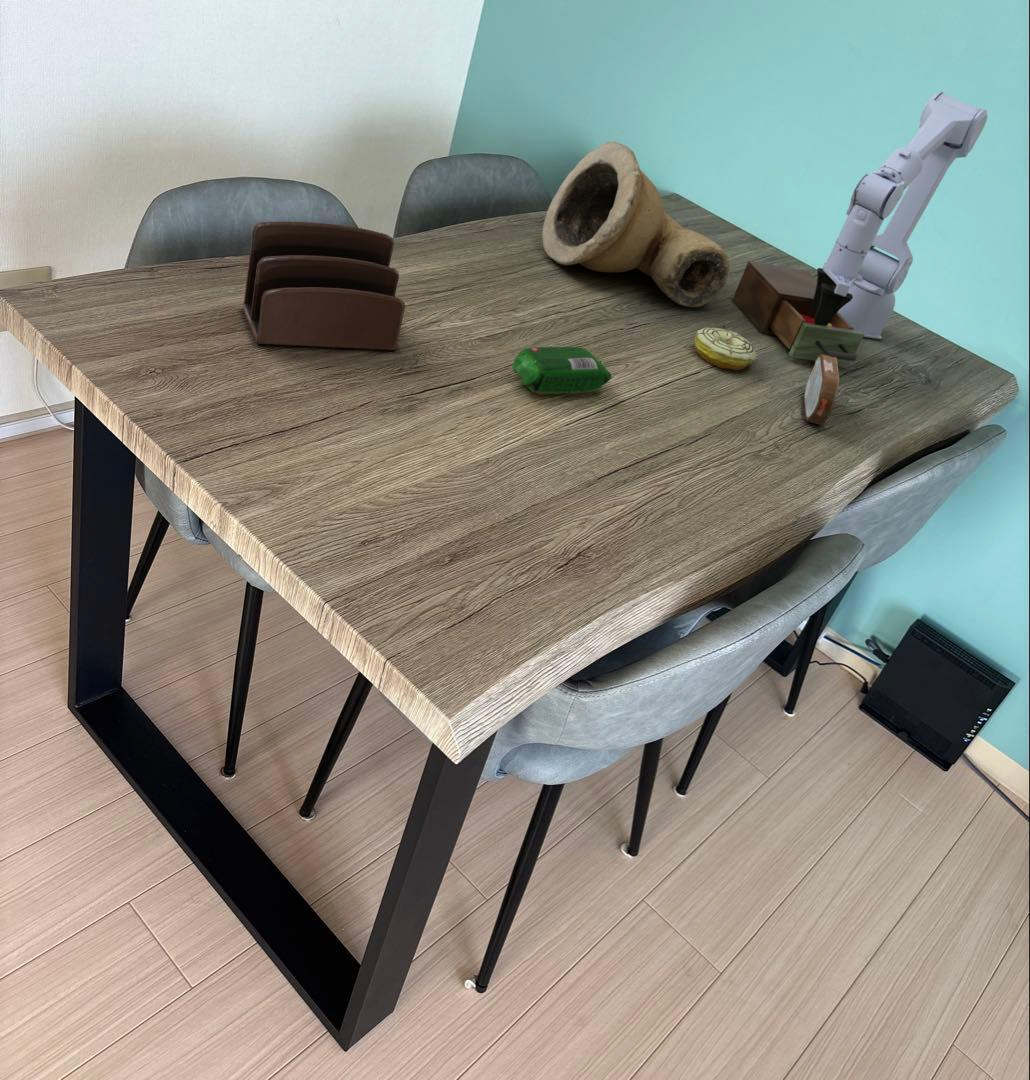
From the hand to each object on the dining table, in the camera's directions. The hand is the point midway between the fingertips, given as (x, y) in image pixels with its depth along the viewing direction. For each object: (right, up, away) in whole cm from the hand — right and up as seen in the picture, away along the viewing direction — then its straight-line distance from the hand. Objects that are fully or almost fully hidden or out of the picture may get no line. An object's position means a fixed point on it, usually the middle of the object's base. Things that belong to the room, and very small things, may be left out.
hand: (818, 317), depth 184 cm
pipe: (-33, +10, +10) cm, 36 cm away
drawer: (-1, -6, +2) cm, 6 cm away
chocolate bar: (-1, -3, +3) cm, 4 cm away
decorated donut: (-19, -9, -9) cm, 23 cm away
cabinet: (-4, +2, +12) cm, 13 cm away
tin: (-6, -19, -17) cm, 26 cm away
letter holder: (-82, -11, -40) cm, 92 cm away
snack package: (-48, -17, -34) cm, 61 cm away
